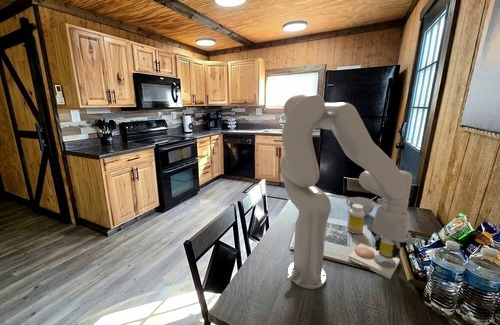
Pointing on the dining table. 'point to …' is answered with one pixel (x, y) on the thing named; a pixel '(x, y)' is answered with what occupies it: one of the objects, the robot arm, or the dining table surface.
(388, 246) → the supplement bottle
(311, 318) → the dining table surface
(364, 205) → the teacup
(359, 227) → the supplement bottle
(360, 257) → the board
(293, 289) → the dining table surface
